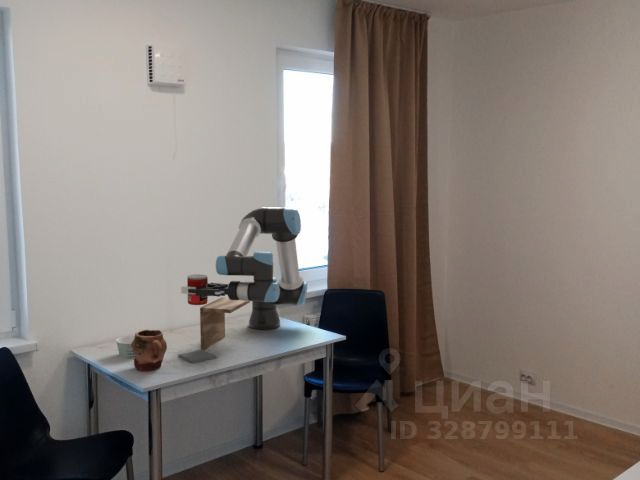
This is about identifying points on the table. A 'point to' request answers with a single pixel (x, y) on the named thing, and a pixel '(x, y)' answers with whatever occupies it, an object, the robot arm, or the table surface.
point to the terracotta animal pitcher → (148, 349)
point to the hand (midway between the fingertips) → (186, 288)
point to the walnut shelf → (216, 319)
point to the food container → (125, 346)
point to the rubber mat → (197, 356)
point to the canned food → (200, 282)
